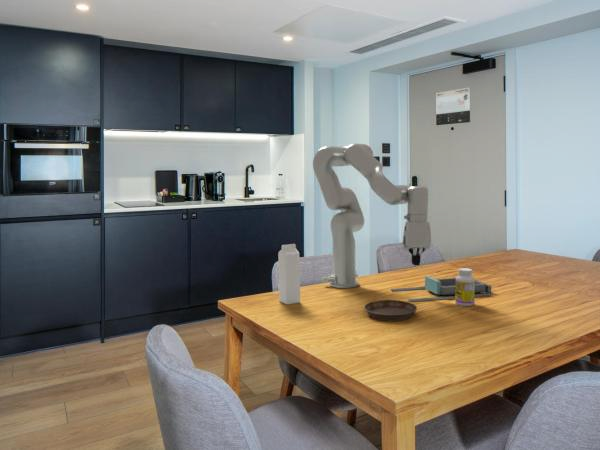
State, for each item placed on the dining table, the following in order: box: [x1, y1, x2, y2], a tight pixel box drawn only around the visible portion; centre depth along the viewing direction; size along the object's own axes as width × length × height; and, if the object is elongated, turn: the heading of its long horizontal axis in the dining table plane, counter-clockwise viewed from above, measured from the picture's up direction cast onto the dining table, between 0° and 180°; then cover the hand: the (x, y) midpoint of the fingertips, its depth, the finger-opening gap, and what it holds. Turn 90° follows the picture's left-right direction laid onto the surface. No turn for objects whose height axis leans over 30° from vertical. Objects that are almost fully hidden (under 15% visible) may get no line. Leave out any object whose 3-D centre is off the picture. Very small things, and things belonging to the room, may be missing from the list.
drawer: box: [424, 275, 486, 296], centre depth 201 cm, size 20×14×6 cm
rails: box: [390, 279, 492, 303], centre depth 200 cm, size 36×18×3 cm, turn 102°
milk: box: [277, 243, 301, 305], centre depth 190 cm, size 6×6×22 cm
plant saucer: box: [363, 299, 418, 322], centre depth 172 cm, size 18×18×3 cm
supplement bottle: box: [454, 267, 476, 307], centre depth 183 cm, size 7×7×13 cm
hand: (415, 264), depth 197 cm, fingers closed
